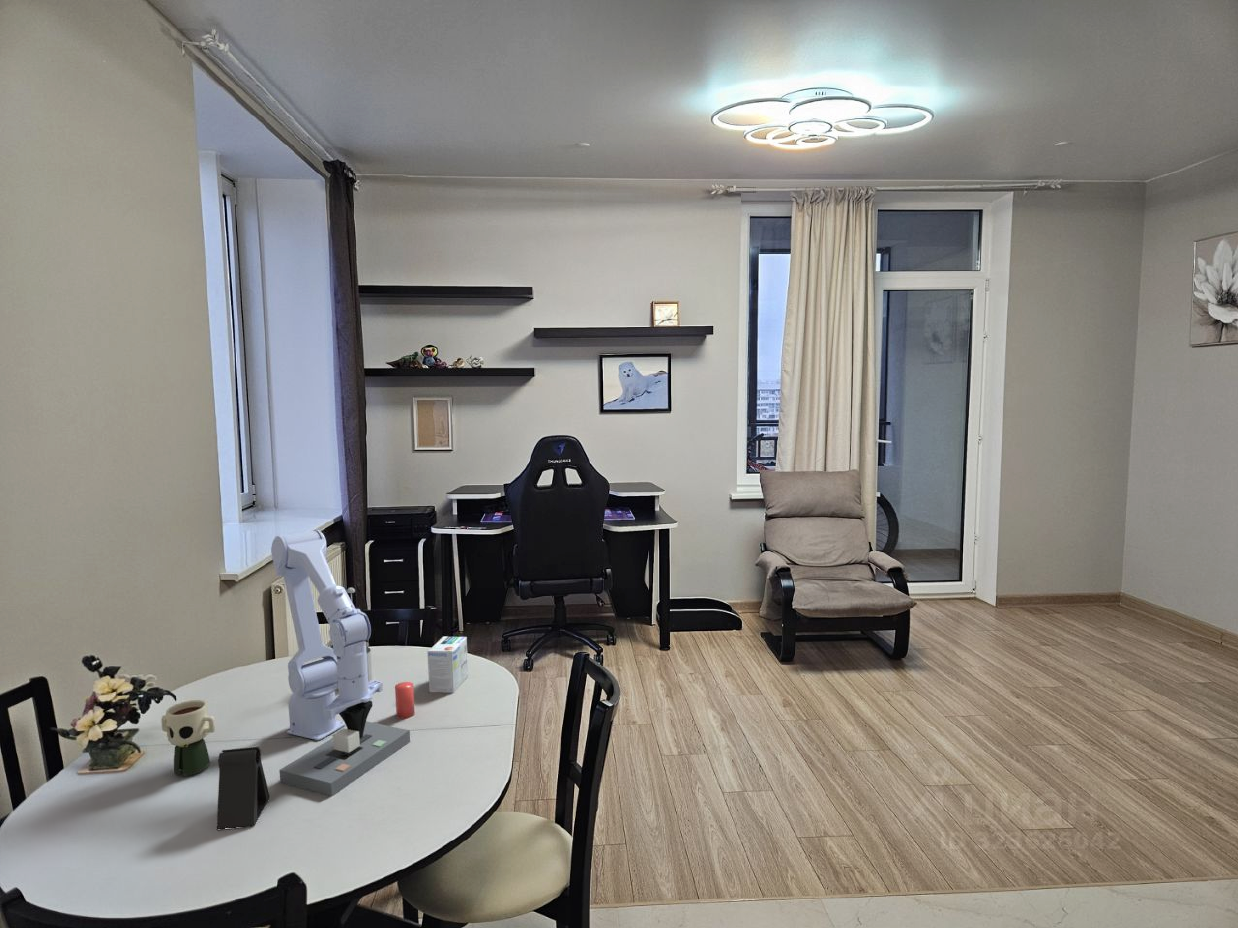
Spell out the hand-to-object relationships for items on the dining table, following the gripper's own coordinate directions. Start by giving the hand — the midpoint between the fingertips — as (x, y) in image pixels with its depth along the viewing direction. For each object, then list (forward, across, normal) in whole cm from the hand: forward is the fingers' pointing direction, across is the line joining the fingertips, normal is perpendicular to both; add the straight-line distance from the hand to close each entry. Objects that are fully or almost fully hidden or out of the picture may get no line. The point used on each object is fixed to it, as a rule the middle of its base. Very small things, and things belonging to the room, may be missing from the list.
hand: (356, 737), depth 147 cm
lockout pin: (+4, +18, +3) cm, 19 cm away
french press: (+4, +29, +28) cm, 40 cm away
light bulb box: (+4, +36, +4) cm, 37 cm away
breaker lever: (+1, -3, 0) cm, 3 cm away
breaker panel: (+4, -2, 0) cm, 4 cm away
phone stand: (+4, -24, +4) cm, 24 cm away
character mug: (+4, -16, +27) cm, 32 cm away
